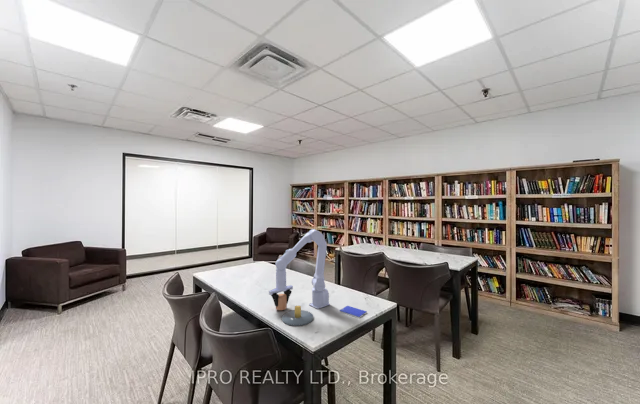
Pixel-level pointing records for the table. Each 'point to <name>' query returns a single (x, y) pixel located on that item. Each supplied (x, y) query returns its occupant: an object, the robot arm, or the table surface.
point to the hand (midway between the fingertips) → (281, 304)
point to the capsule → (297, 311)
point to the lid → (291, 320)
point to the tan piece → (282, 302)
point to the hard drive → (353, 311)
